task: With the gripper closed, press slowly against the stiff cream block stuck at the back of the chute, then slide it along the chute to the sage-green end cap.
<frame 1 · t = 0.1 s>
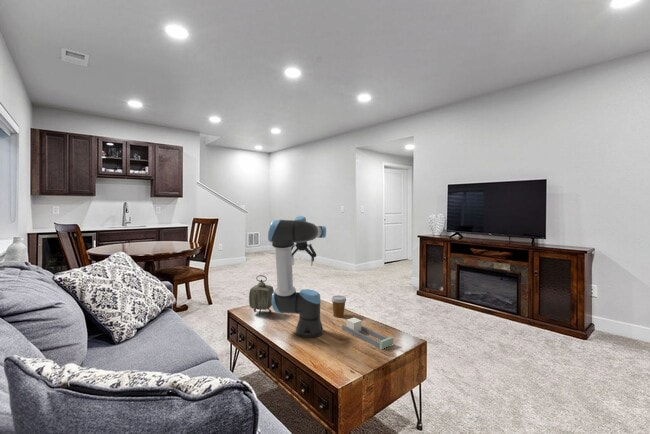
hand: (302, 264, 225), 28 cm above the table, tool tilted 20°, fingers open, 13 cm apart
jammed block: (354, 325, 180), point 3 cm above the table, slide at 0.0 cm
chute: (365, 336, 173), on the table
tabletop clock: (261, 313, 204), on the table
disposable coffee cup: (338, 316, 203), on the table
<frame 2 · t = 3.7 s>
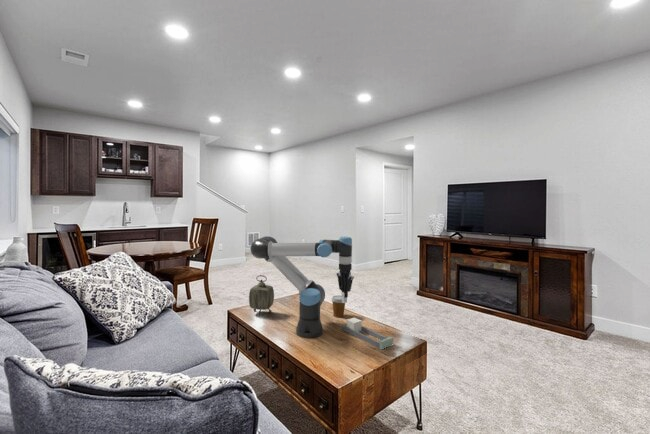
hand: (344, 302, 186), 14 cm above the table, tool pointing down, fingers closed
nothing on the table moved.
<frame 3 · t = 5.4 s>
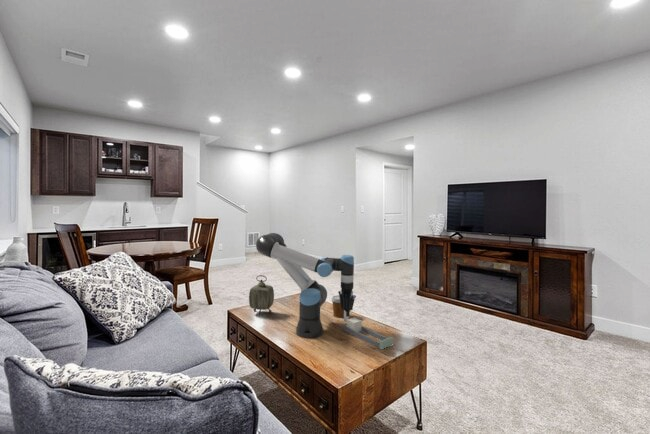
hand: (346, 321, 185), 3 cm above the table, tool pointing down, fingers closed
nothing on the table moved.
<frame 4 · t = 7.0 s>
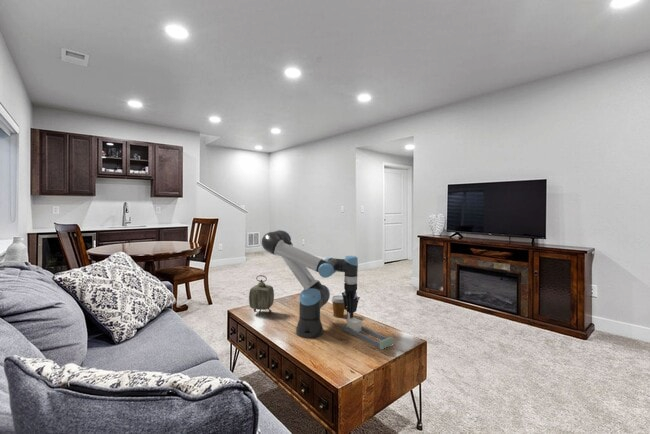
hand: (349, 322, 182), 3 cm above the table, tool pointing down, fingers closed
jammed block: (354, 325, 179), point 3 cm above the table, slide at 0.1 cm, touching gripper
everything else where it was.
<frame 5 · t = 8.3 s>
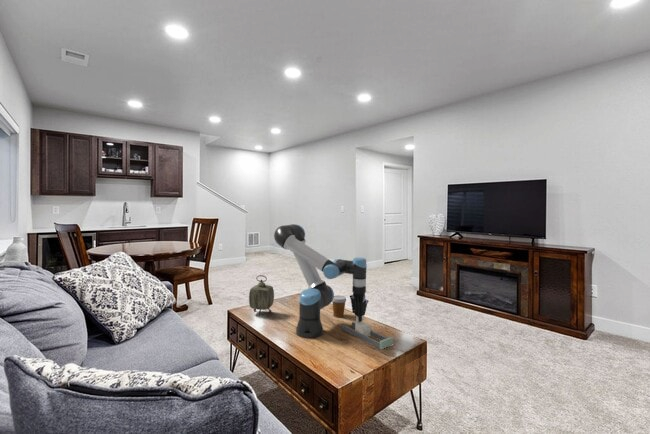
hand: (358, 326, 177), 3 cm above the table, tool pointing down, fingers closed
jammed block: (362, 329, 174), point 3 cm above the table, slide at 7.1 cm, touching gripper
everything else where it was.
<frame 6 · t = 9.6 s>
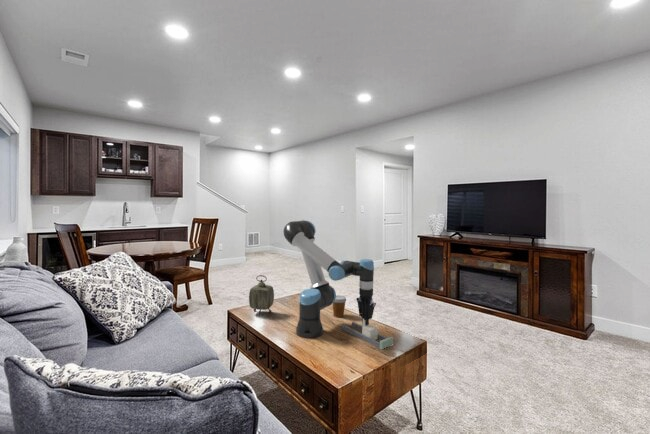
hand: (365, 330, 173), 3 cm above the table, tool pointing down, fingers closed
jammed block: (370, 332, 170), point 3 cm above the table, slide at 12.6 cm, touching gripper
everything else where it was.
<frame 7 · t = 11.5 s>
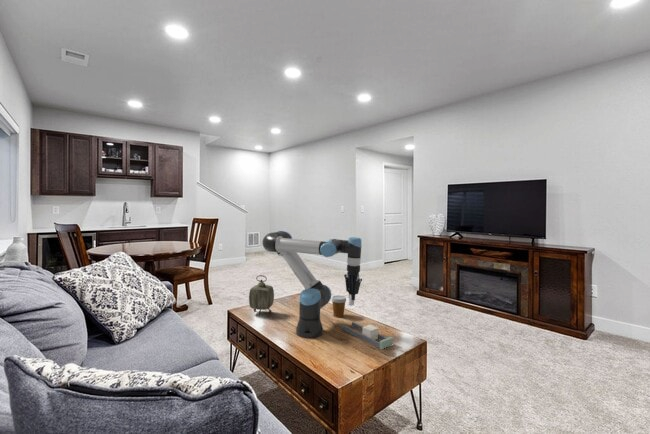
hand: (351, 304, 180), 15 cm above the table, tool pointing down, fingers closed
jammed block: (370, 333, 170), point 3 cm above the table, slide at 12.7 cm
everything else where it was.
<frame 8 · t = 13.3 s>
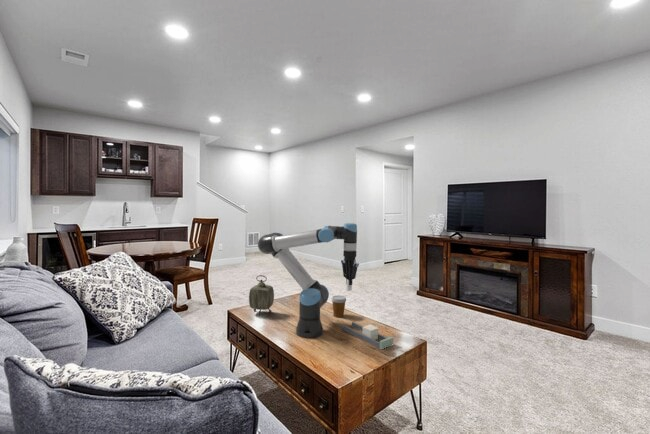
hand: (349, 290, 182), 22 cm above the table, tool pointing down, fingers closed
nothing on the table moved.
at the end: jammed block slide at 12.7 cm; the gripper is holding nothing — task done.
